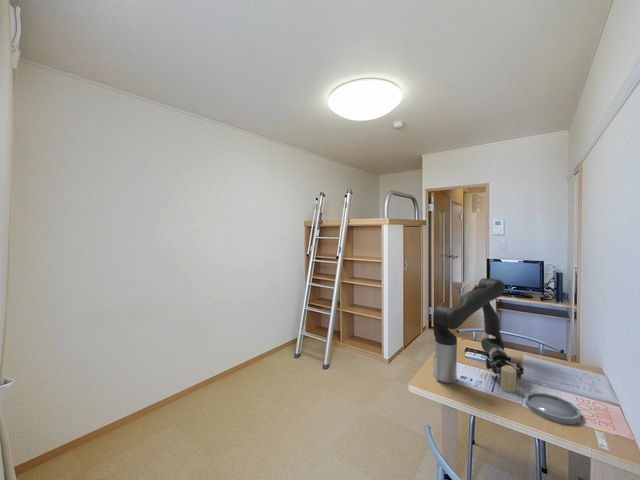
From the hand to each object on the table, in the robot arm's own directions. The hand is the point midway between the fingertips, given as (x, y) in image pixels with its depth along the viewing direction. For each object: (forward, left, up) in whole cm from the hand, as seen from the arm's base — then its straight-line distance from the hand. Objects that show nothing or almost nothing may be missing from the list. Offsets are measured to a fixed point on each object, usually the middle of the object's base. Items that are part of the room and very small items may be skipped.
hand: (507, 373), depth 123 cm
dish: (+9, -14, -6) cm, 18 cm away
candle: (0, -1, -6) cm, 6 cm away
